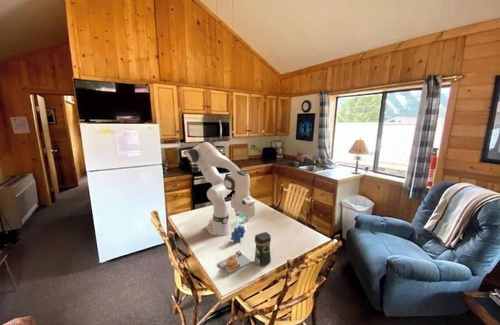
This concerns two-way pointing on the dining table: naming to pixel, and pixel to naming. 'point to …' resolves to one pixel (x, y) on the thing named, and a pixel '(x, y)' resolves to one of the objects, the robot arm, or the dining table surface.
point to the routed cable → (238, 254)
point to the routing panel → (241, 259)
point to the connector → (231, 261)
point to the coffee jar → (262, 248)
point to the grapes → (238, 233)
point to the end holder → (231, 267)
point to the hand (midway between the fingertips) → (241, 218)
